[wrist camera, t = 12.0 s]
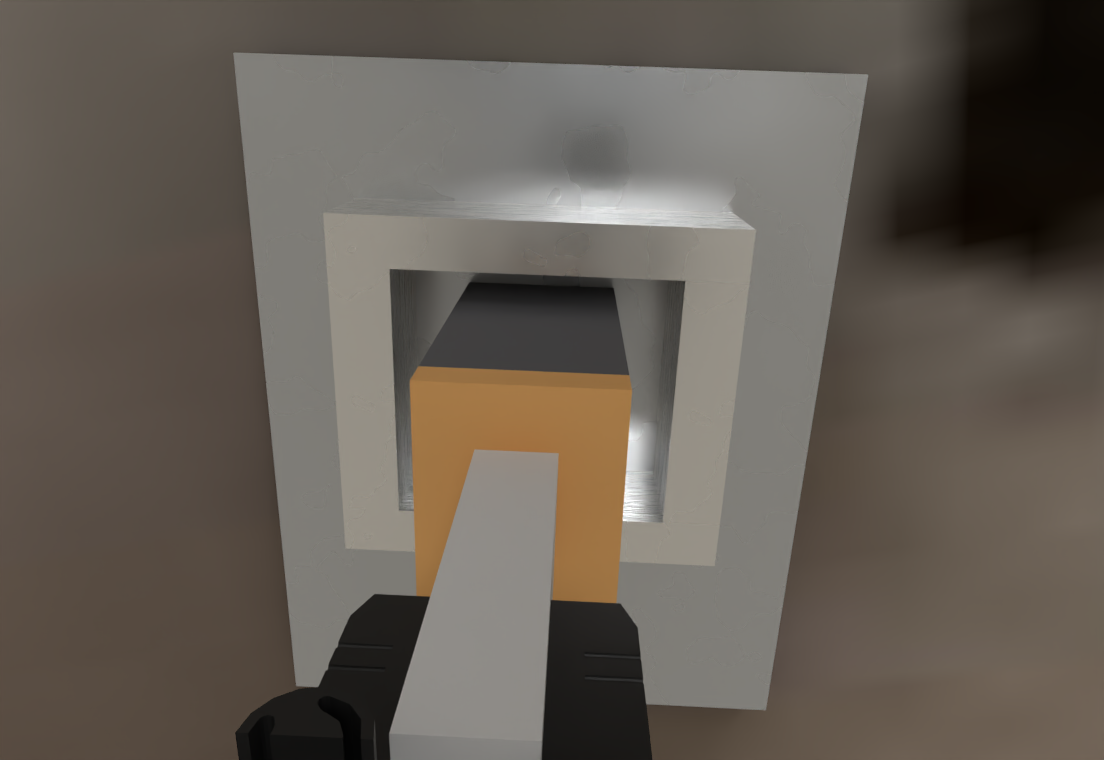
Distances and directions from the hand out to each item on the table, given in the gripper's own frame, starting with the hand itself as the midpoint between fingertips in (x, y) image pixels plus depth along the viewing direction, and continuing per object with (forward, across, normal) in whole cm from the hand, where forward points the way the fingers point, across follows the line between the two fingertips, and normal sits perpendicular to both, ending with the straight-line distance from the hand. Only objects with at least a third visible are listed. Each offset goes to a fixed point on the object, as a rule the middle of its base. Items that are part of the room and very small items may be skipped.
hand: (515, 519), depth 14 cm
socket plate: (+10, 0, -2) cm, 10 cm away
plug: (+9, 0, 0) cm, 9 cm away
